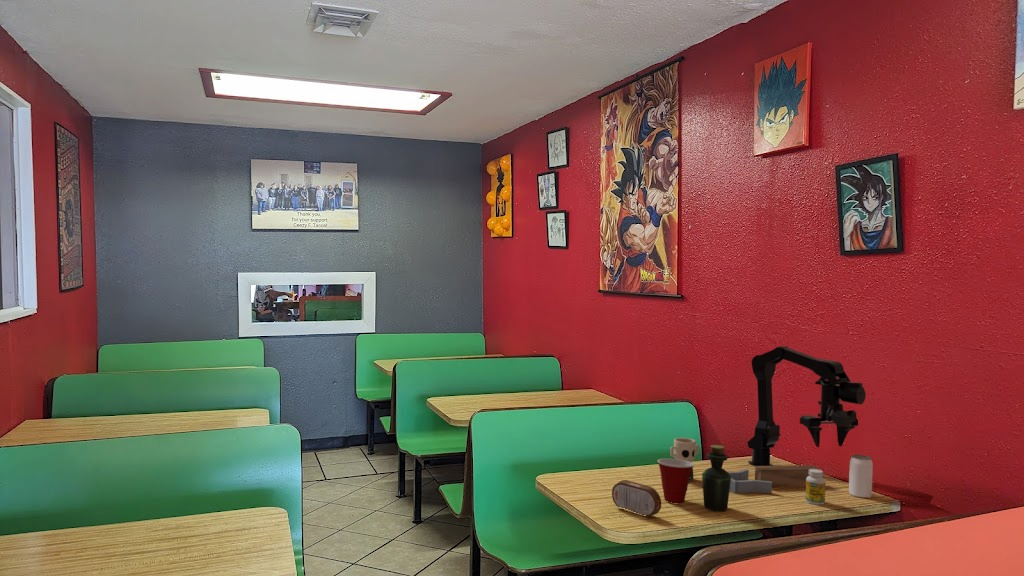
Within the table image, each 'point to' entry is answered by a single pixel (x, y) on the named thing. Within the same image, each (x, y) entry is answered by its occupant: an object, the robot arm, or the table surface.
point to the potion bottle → (716, 481)
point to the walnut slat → (784, 475)
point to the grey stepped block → (748, 483)
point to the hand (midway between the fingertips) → (828, 446)
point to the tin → (636, 497)
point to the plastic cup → (675, 478)
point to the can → (860, 476)
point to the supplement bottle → (815, 487)
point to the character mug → (685, 450)
